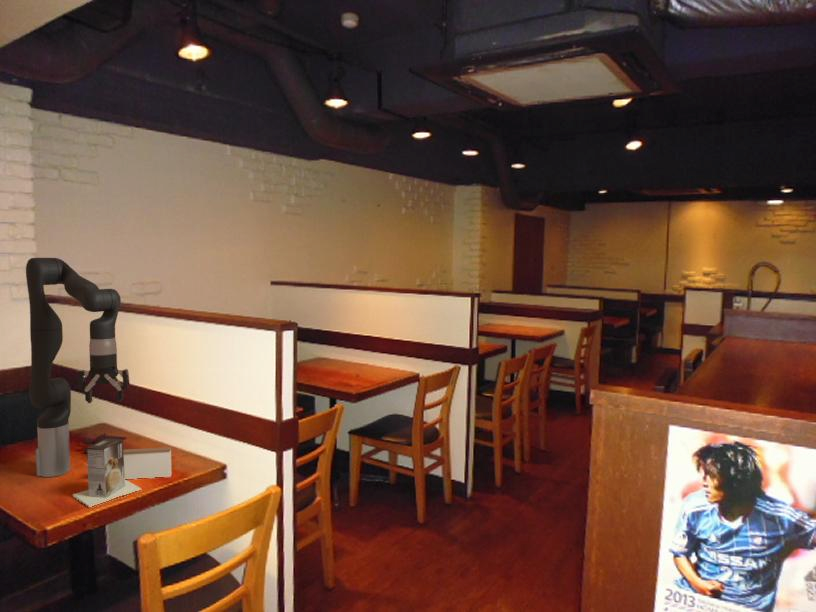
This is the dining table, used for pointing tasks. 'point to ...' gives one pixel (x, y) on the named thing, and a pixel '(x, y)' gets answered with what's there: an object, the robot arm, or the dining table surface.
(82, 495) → the mat
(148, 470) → the flat box
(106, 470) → the coffee box
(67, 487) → the dining table surface
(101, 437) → the icecream
